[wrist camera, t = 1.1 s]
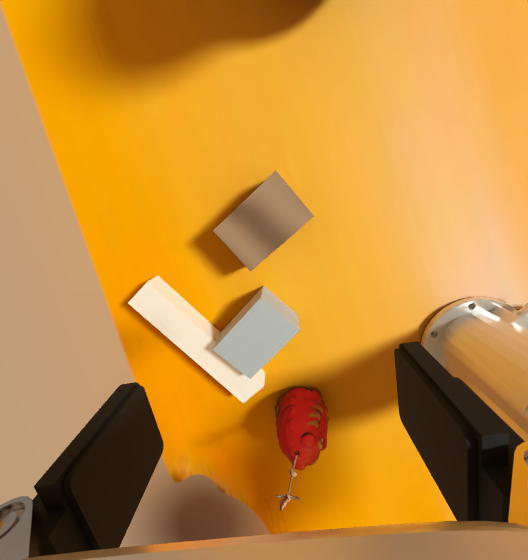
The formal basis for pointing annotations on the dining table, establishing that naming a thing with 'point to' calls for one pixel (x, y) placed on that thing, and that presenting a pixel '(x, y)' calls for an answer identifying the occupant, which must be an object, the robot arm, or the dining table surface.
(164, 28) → the dining table surface
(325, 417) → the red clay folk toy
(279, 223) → the walnut block
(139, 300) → the stop rail
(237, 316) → the slate block
